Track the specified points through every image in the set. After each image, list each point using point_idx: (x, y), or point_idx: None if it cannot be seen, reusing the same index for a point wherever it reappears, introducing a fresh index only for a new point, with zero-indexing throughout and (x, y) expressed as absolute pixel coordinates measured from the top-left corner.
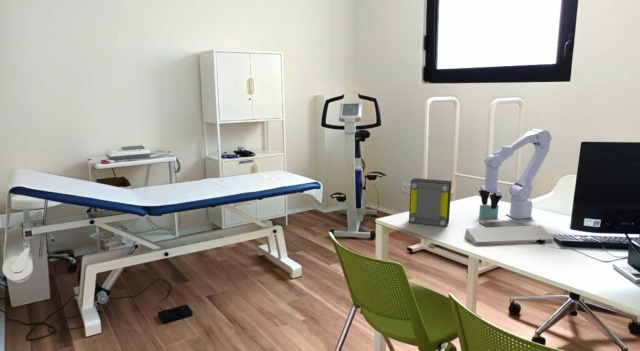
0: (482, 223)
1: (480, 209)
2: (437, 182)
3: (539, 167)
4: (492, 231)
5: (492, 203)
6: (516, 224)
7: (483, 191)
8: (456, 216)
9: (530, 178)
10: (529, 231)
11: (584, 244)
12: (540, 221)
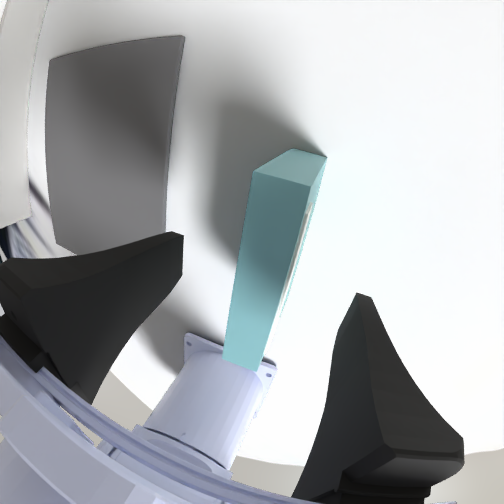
0: (153, 45)
1: (299, 167)
2: None
3: None
4: (6, 9)
5: (112, 248)
6: (98, 239)
7: (351, 477)
8: (431, 3)
9: None
10: None
11: (2, 247)
12: (144, 365)
